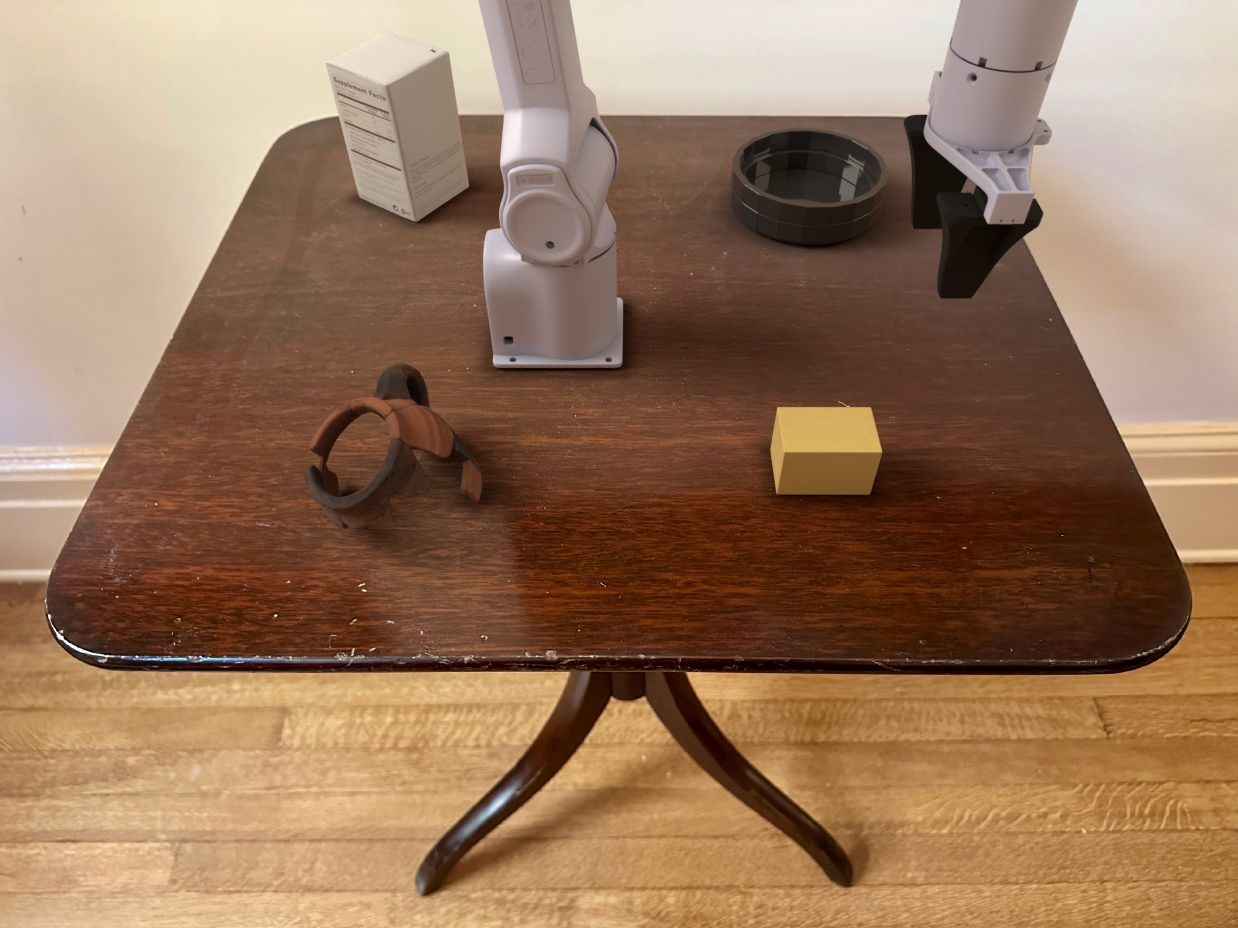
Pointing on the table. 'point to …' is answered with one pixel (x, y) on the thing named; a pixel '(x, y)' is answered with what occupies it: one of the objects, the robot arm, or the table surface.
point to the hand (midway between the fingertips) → (940, 259)
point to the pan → (807, 185)
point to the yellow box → (825, 450)
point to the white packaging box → (400, 123)
